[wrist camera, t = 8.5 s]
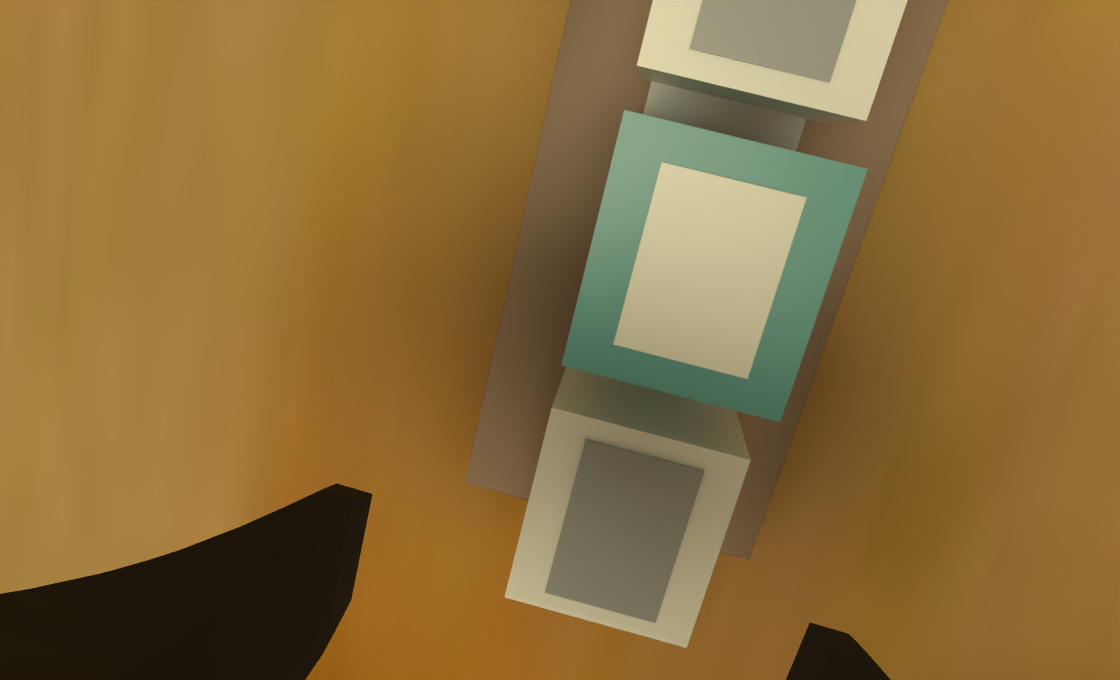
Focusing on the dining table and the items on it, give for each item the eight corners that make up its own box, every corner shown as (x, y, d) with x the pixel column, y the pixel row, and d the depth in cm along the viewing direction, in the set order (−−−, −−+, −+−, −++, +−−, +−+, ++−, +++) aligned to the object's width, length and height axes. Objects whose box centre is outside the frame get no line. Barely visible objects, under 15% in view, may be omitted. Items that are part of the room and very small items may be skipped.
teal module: (807, 156, 17) (869, 169, 12) (746, 344, 18) (781, 424, 13) (632, 113, 17) (623, 109, 12) (585, 302, 18) (560, 366, 14)
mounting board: (959, -74, 17) (993, -96, 15) (744, 540, 22) (752, 575, 20) (610, -154, 17) (605, -183, 16) (473, 467, 22) (458, 495, 20)
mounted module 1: (730, 390, 19) (751, 462, 15) (680, 546, 20) (687, 651, 16) (572, 349, 19) (550, 409, 15) (532, 507, 20) (503, 599, 16)
